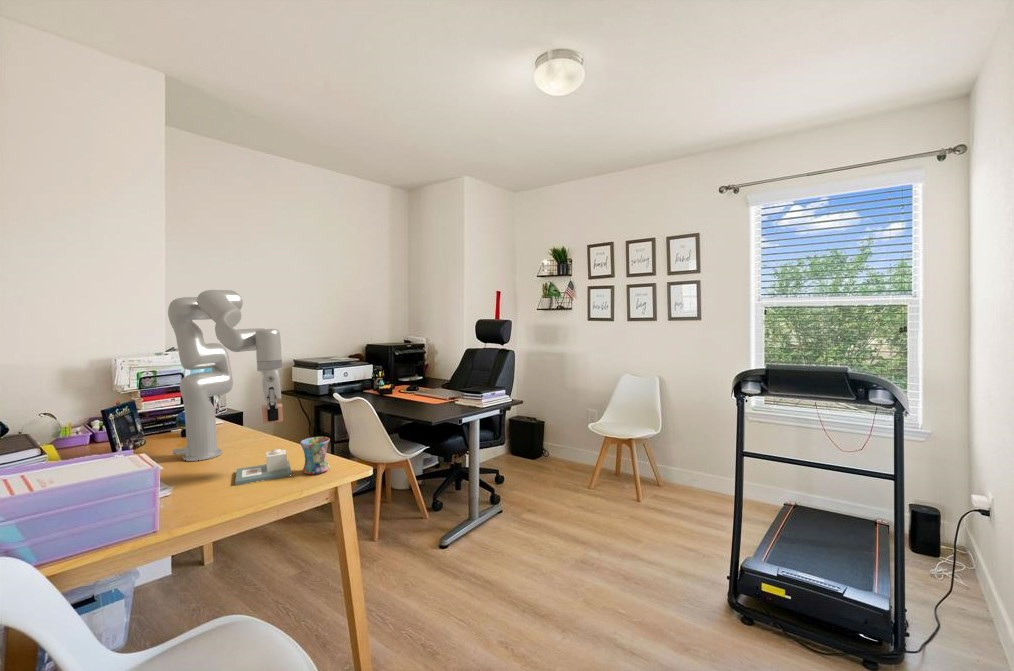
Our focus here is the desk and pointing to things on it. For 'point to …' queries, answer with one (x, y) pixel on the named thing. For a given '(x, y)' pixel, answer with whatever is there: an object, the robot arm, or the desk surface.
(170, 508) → the desk surface
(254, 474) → the baseplate
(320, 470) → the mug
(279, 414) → the terracotta brick
